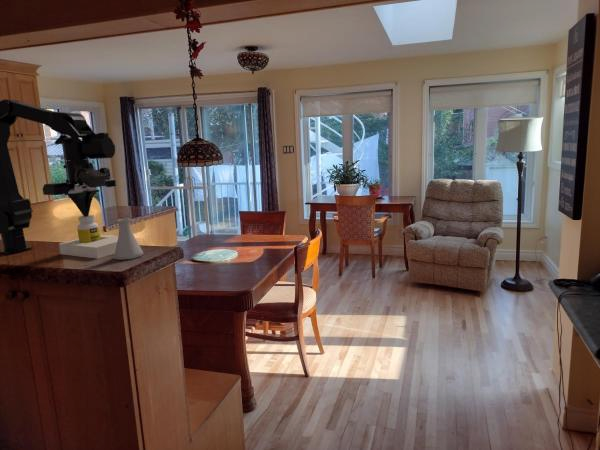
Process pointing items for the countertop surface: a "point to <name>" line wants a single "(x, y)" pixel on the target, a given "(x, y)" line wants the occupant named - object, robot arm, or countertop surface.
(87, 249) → the block
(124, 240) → the flask
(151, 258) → the countertop surface
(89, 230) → the supplement bottle
